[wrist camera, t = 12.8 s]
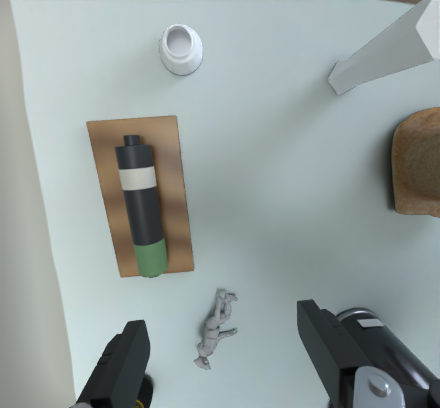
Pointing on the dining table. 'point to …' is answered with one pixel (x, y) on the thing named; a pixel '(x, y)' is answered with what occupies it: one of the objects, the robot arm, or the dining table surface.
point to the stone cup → (417, 164)
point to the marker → (142, 205)
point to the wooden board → (166, 186)
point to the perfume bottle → (393, 48)
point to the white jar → (180, 49)
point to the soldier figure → (214, 331)
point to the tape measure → (144, 394)
